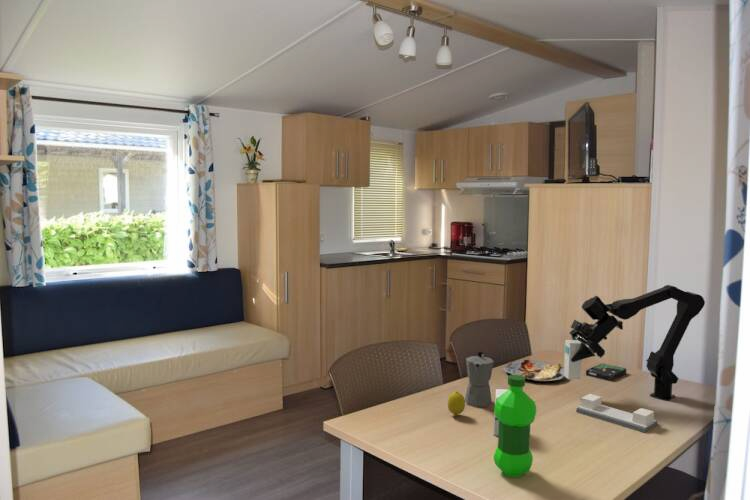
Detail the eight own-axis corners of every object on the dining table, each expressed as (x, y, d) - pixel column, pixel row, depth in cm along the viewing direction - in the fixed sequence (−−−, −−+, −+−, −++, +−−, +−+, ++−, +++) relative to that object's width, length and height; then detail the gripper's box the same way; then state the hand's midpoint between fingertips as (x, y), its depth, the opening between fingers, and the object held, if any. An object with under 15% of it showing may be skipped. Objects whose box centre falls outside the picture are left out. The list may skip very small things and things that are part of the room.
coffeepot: (489, 411, 191) (492, 357, 189) (461, 407, 194) (463, 354, 192) (494, 396, 205) (496, 346, 204) (468, 392, 208) (469, 343, 206)
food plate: (520, 361, 249) (520, 353, 248) (575, 372, 235) (575, 364, 235) (495, 377, 228) (496, 368, 228) (554, 390, 215) (554, 381, 214)
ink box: (493, 424, 179) (495, 388, 178) (510, 426, 178) (511, 389, 177) (493, 436, 171) (495, 397, 170) (511, 437, 170) (512, 398, 169)
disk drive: (610, 383, 224) (626, 374, 235) (611, 376, 224) (626, 368, 234) (585, 376, 231) (601, 368, 242) (585, 370, 231) (601, 362, 242)
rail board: (590, 404, 198) (591, 392, 198) (657, 424, 182) (658, 410, 182) (576, 411, 191) (576, 398, 191) (644, 432, 175) (645, 418, 175)
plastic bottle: (489, 477, 146) (493, 380, 143) (496, 460, 155) (499, 369, 153) (530, 485, 142) (534, 386, 140) (534, 466, 152) (539, 374, 150)
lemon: (466, 414, 188) (467, 390, 187) (461, 420, 183) (462, 395, 182) (450, 411, 190) (451, 387, 189) (445, 417, 185) (445, 392, 184)
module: (575, 375, 208) (577, 340, 207) (580, 379, 204) (582, 343, 202) (563, 375, 208) (564, 340, 207) (567, 379, 204) (569, 343, 202)
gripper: (575, 307, 213) (545, 337, 214) (597, 318, 194) (563, 350, 195) (595, 328, 214) (565, 357, 215) (619, 341, 196) (585, 373, 196)
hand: (569, 359), depth 205 cm, fingers closed on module, 4 cm apart
